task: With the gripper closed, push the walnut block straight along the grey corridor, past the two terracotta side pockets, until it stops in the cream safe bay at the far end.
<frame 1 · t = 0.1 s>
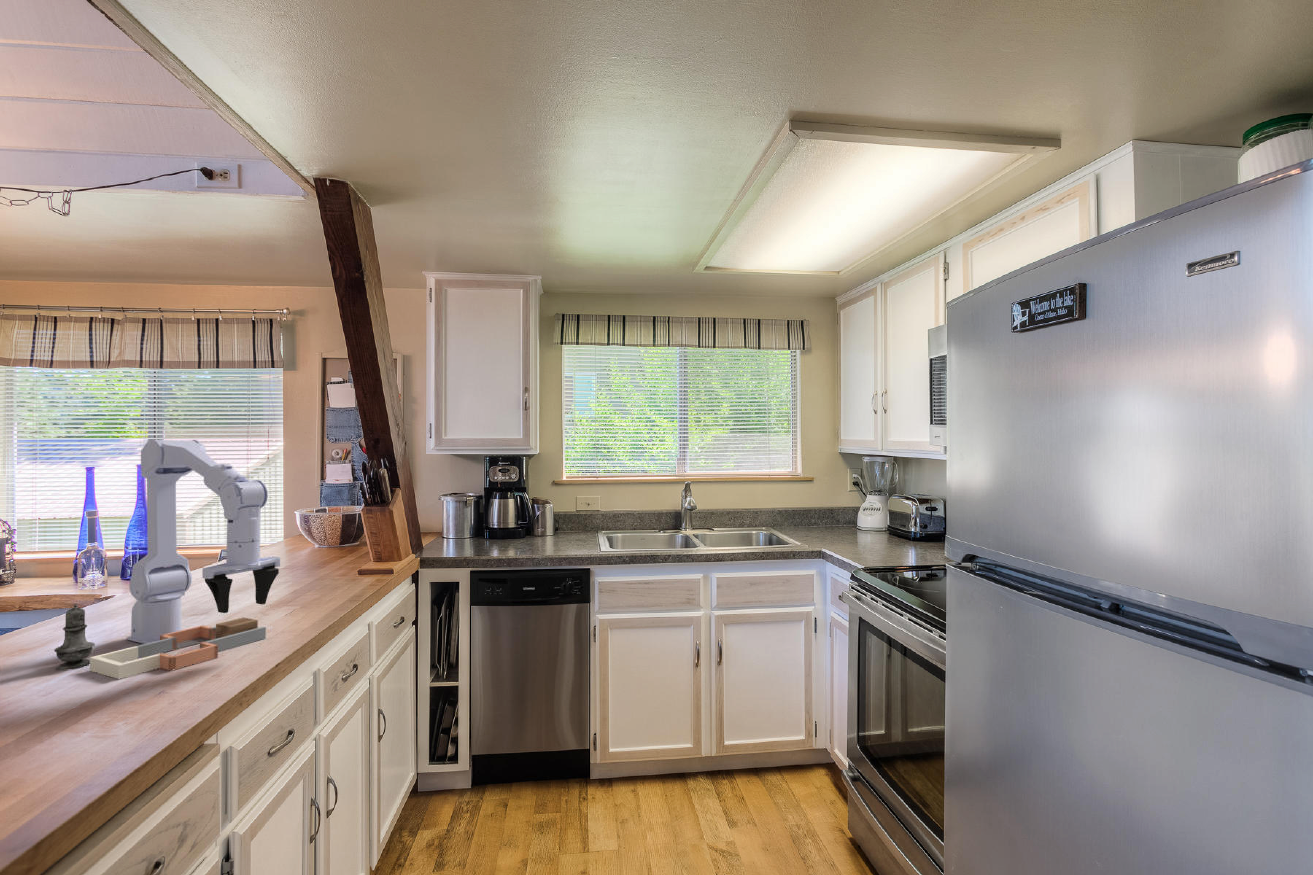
hand: (242, 607, 131), 10 cm above the table, tool pointing down, fingers open, 7 cm apart
walnut block: (236, 640, 143), on the table
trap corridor: (183, 653, 133), on the table
salt shaker: (74, 666, 126), on the table
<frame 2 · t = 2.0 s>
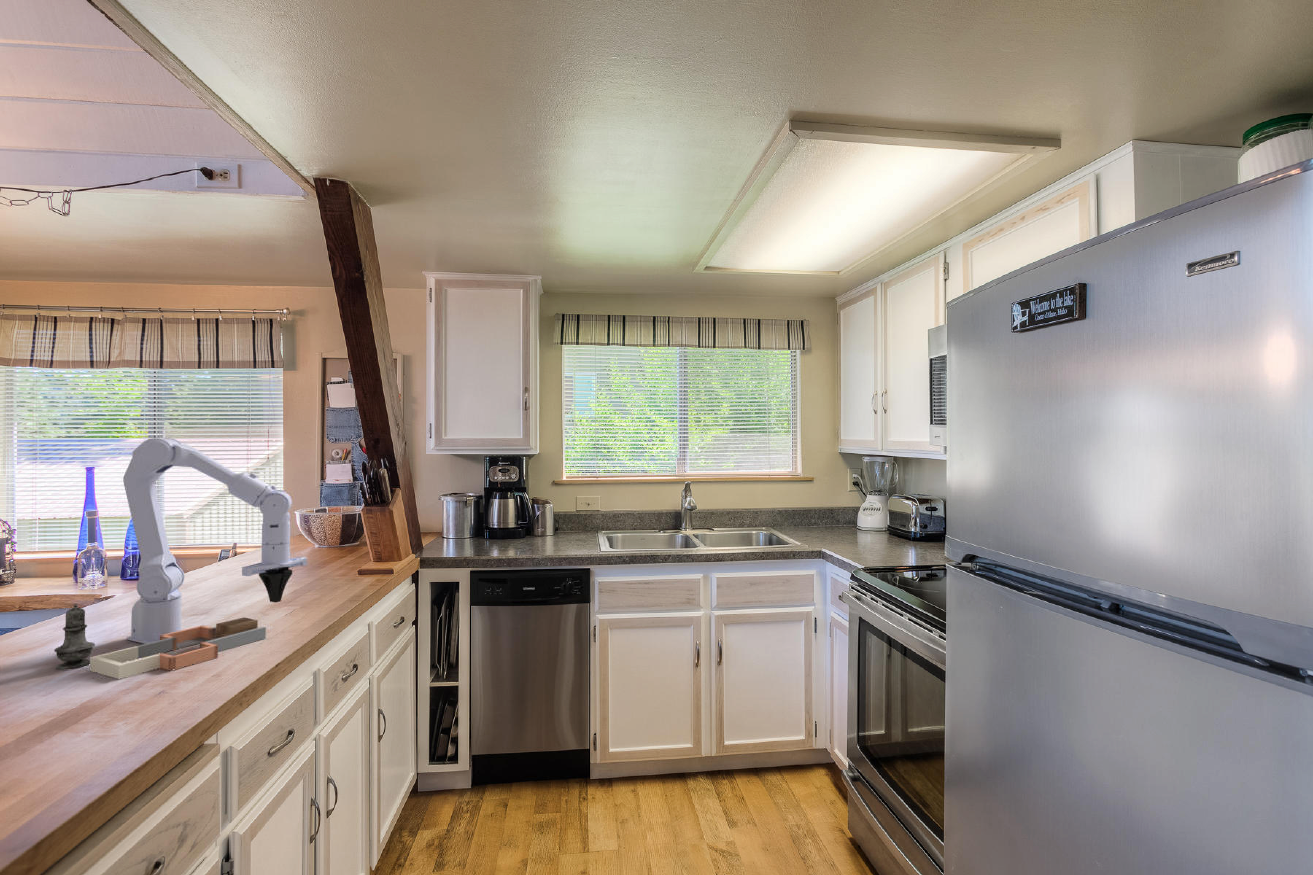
hand: (275, 601, 151), 6 cm above the table, tool pointing down, fingers closed
nothing on the table moved.
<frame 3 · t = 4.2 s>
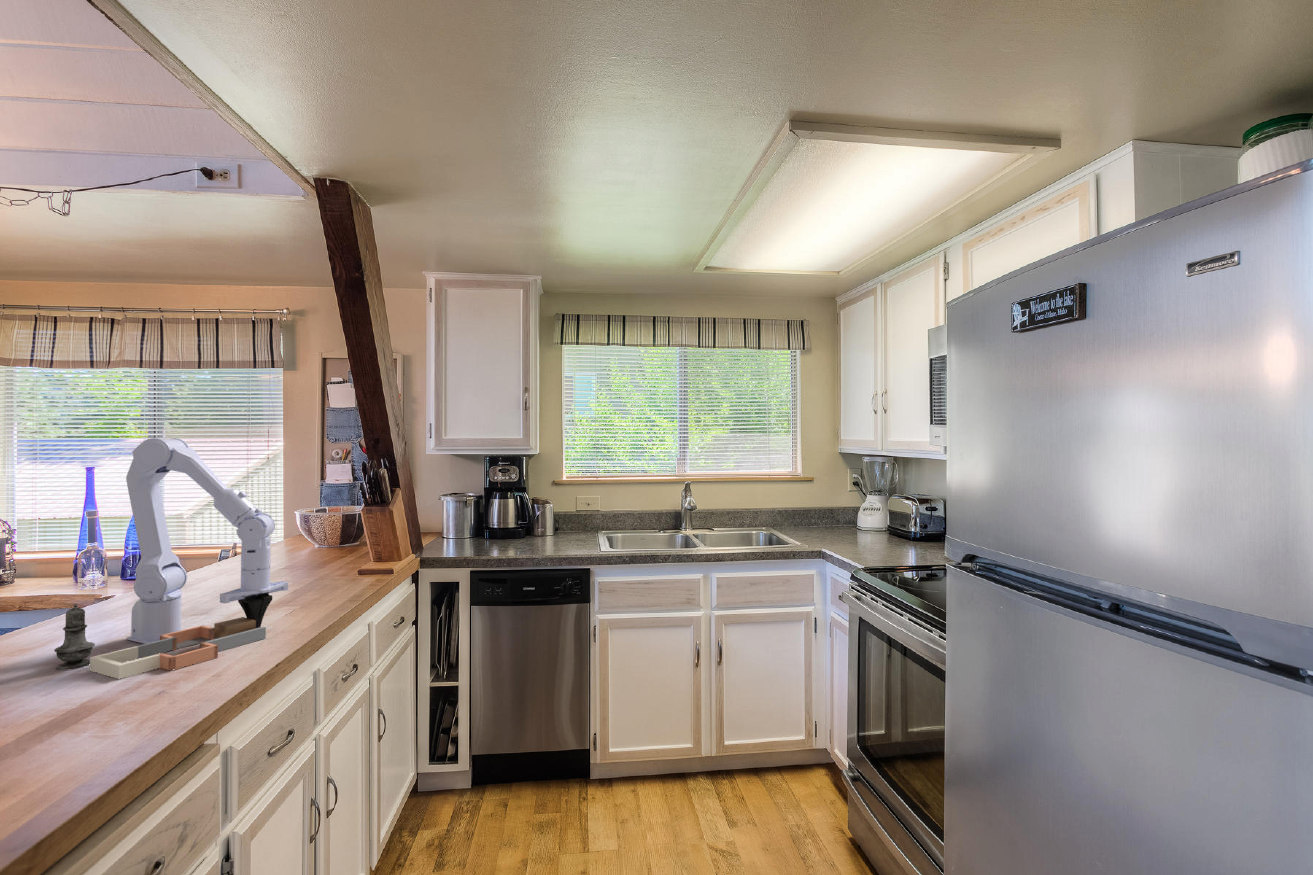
hand: (254, 628, 147), 1 cm above the table, tool pointing down, fingers closed
walnut block: (235, 639, 143), on the table, touching gripper
everything else where it was.
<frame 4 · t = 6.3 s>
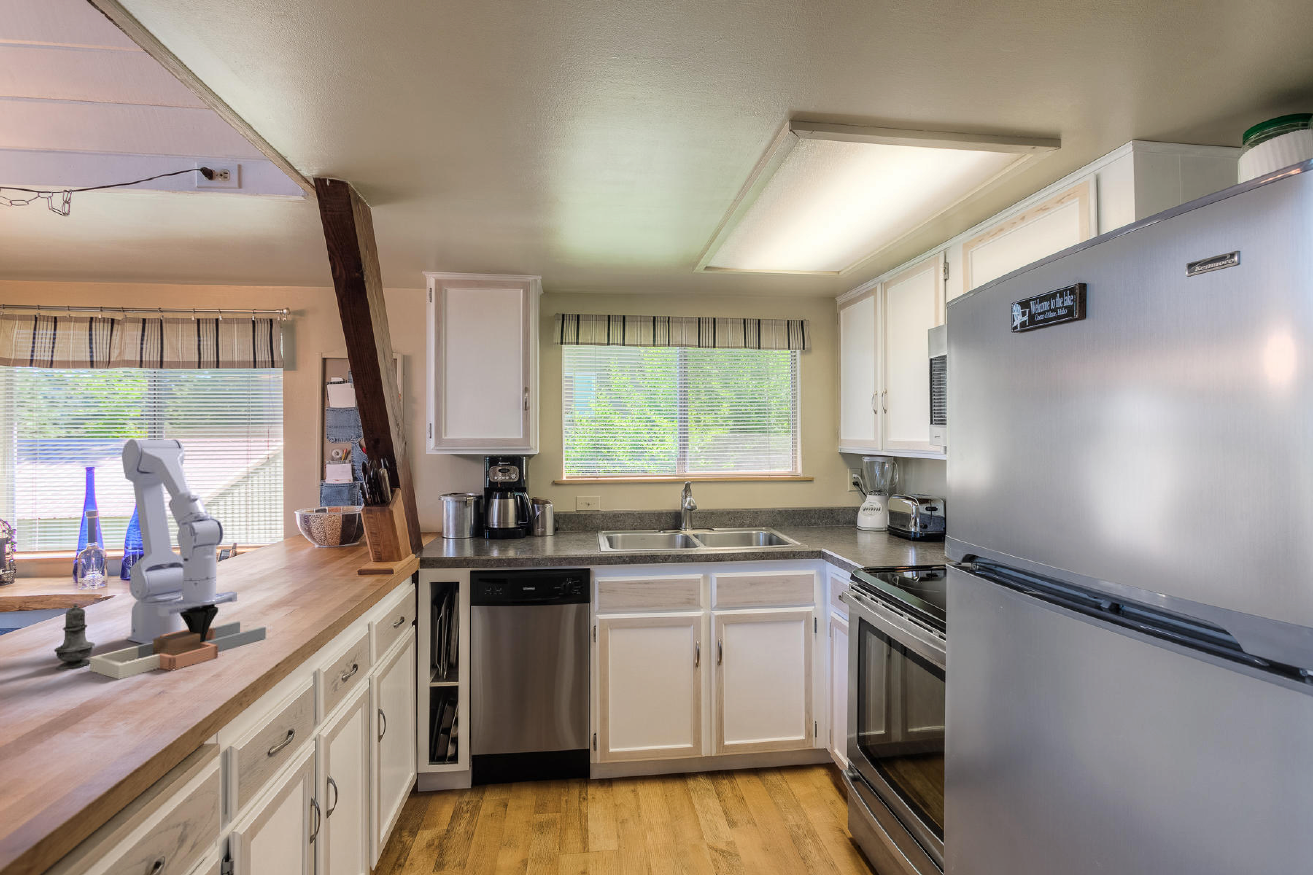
hand: (198, 642, 136), 1 cm above the table, tool pointing down, fingers closed
walnut block: (176, 655, 132), on the table, touching gripper
everything else where it was.
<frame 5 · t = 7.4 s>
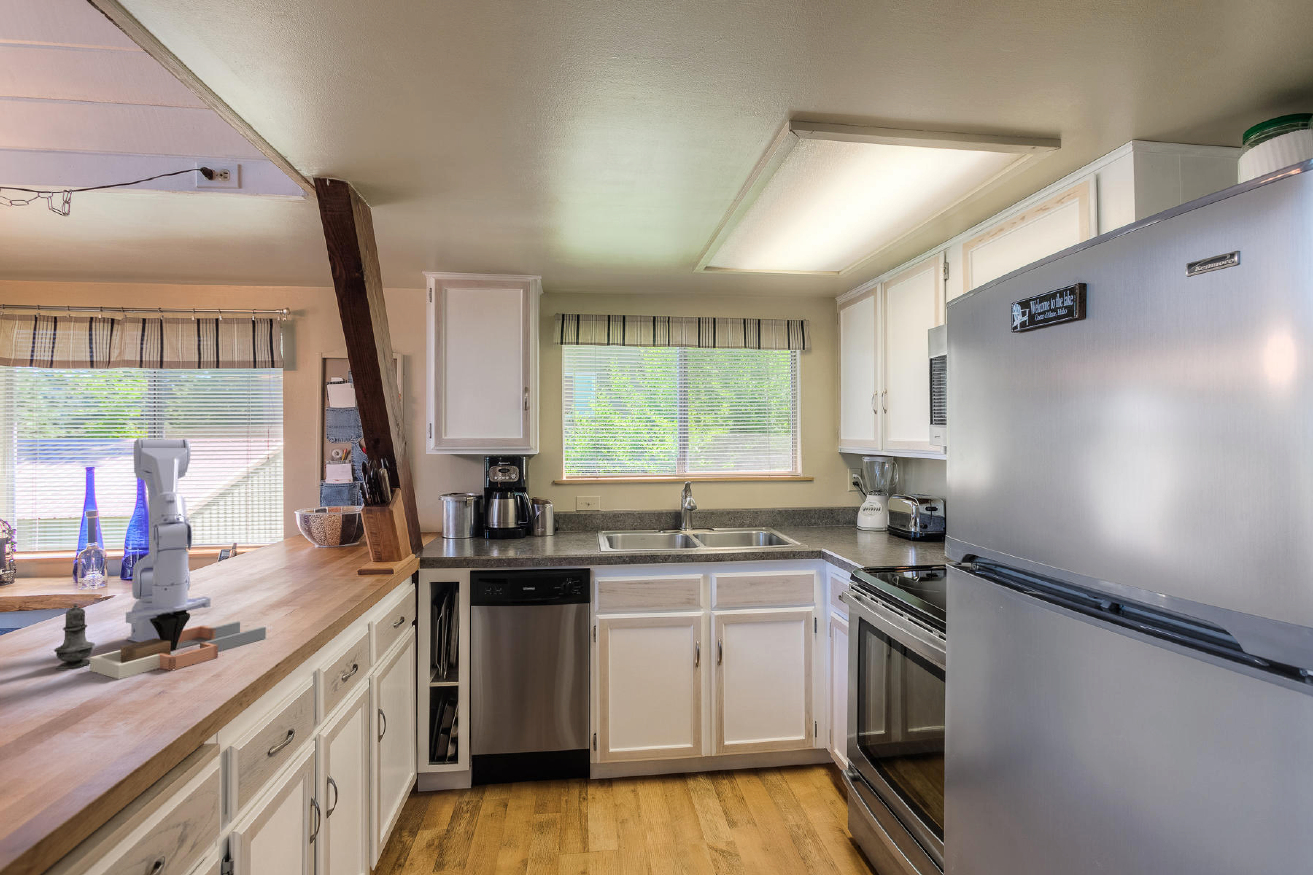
hand: (169, 650, 131), 1 cm above the table, tool pointing down, fingers closed
walnut block: (145, 664, 127), on the table, touching gripper
everything else where it was.
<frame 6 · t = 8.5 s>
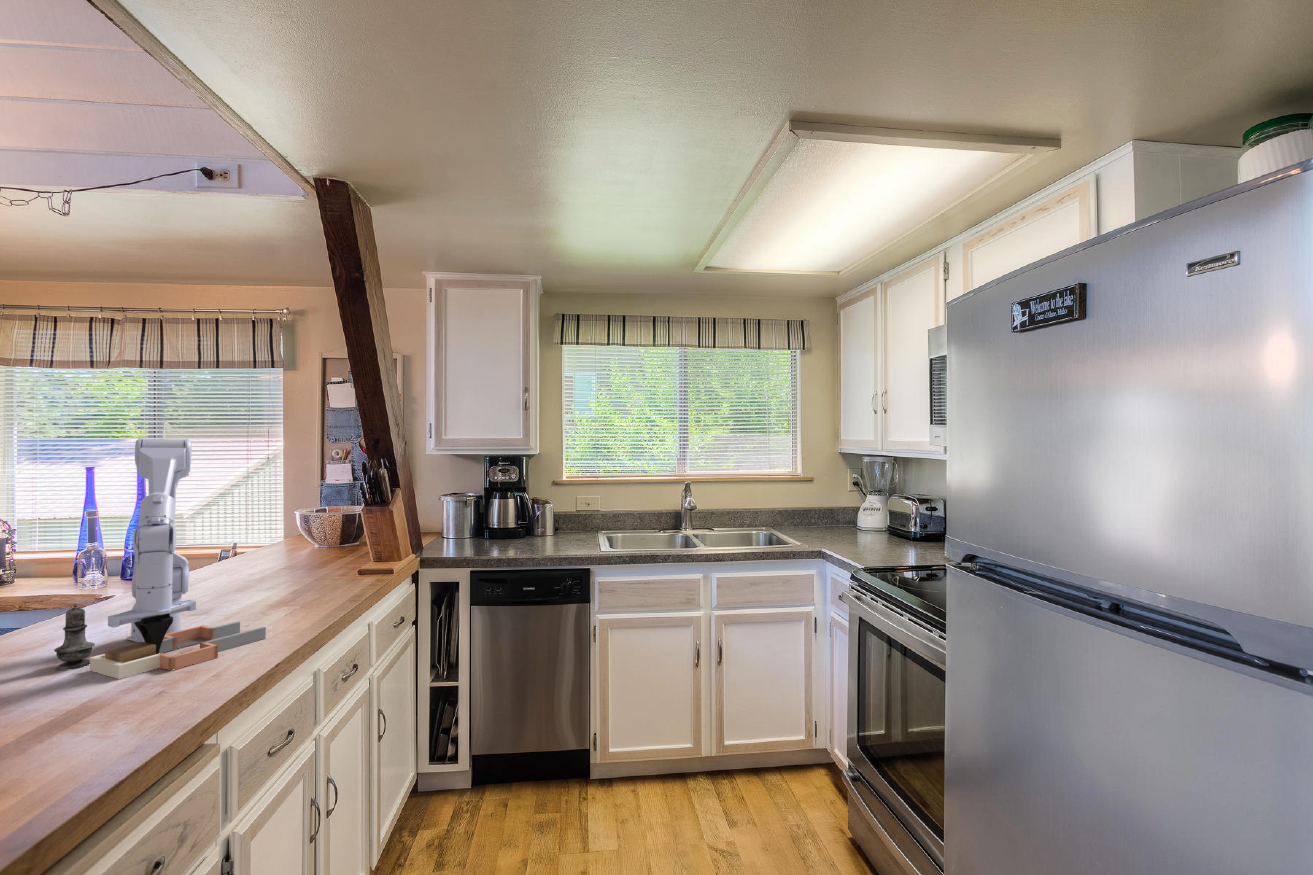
hand: (153, 654, 128), 1 cm above the table, tool pointing down, fingers closed
walnut block: (130, 668, 124), on the table, touching gripper, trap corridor
everything else where it was.
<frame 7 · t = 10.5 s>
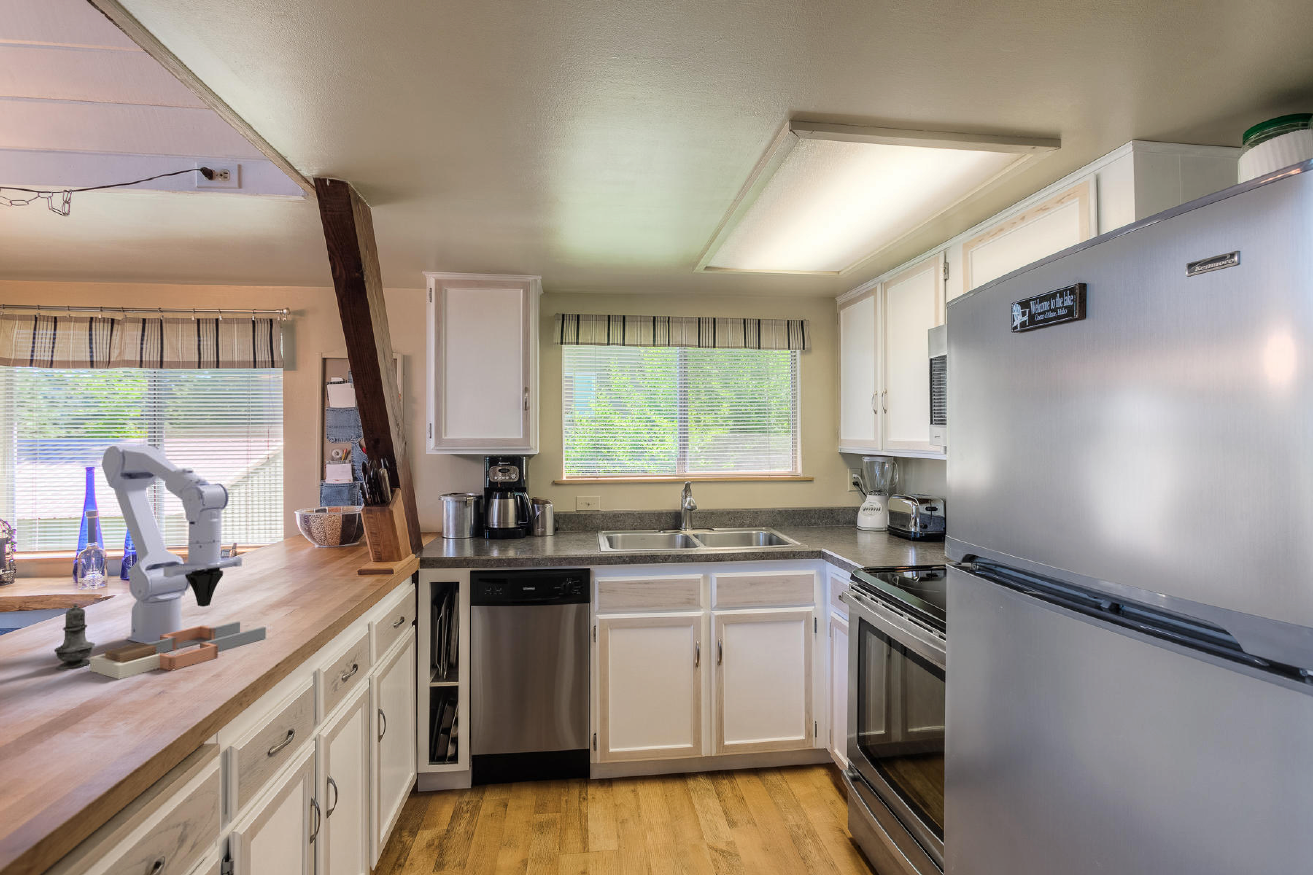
hand: (203, 605, 138), 9 cm above the table, tool pointing down, fingers closed
walnut block: (130, 669, 124), on the table
everything else where it was.
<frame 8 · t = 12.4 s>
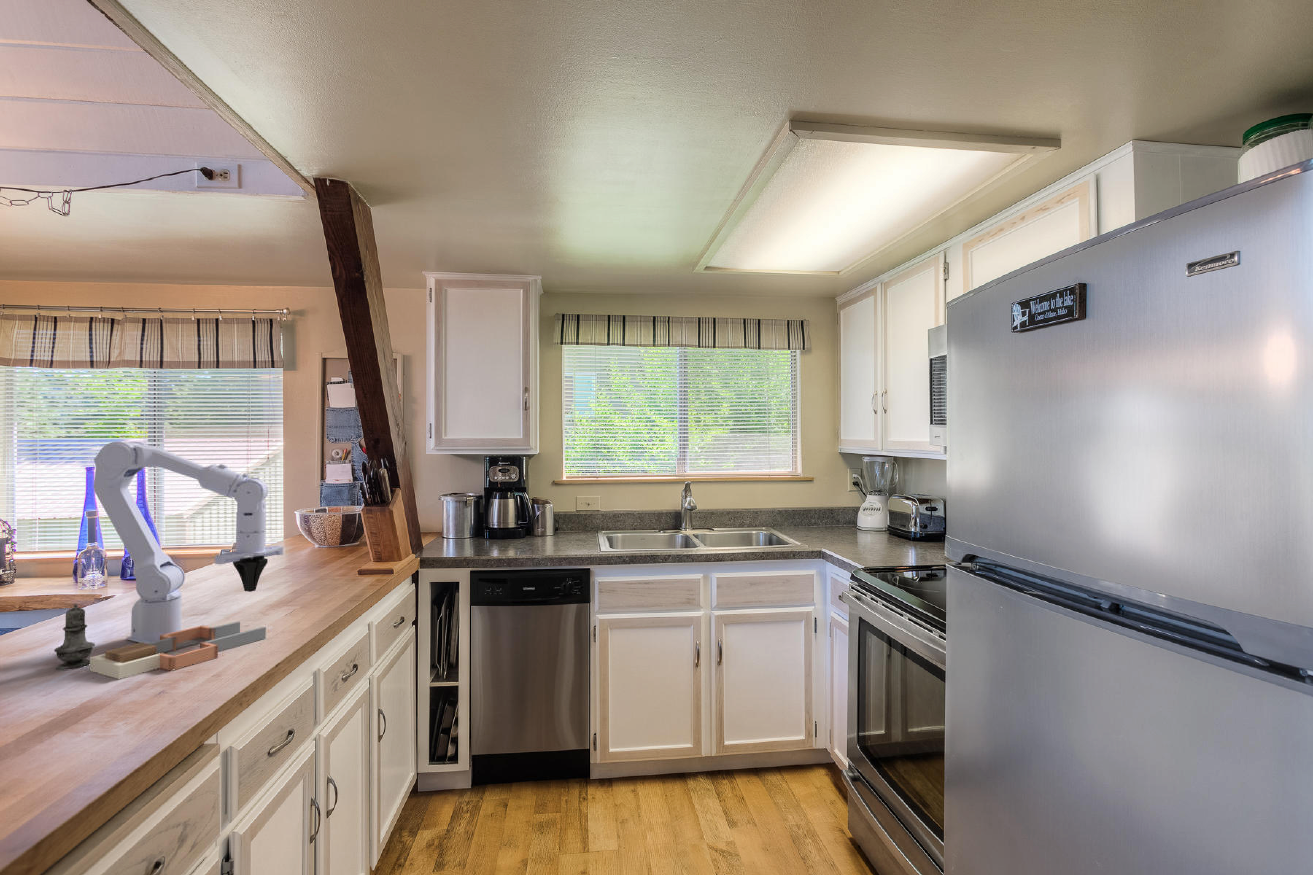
hand: (249, 590, 149), 9 cm above the table, tool pointing down, fingers closed
nothing on the table moved.
at the end: walnut block 0.5 cm from the target spot, on the table; walnut block tilted 0° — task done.
